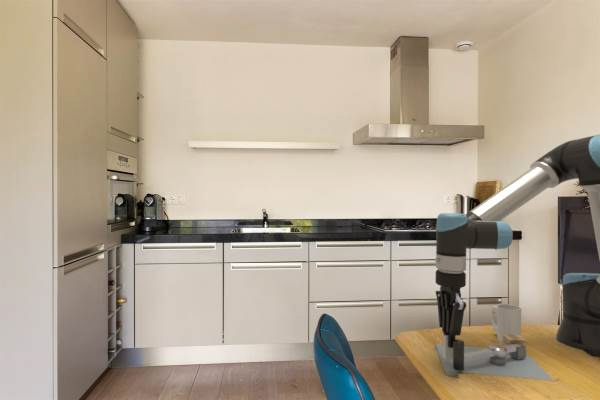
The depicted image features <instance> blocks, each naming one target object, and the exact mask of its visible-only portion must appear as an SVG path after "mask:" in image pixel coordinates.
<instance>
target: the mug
mask: <svg viewBox="0 0 600 400" xmlns="http://www.w3.org/2000/svg"><path fill="white" fill-rule="evenodd" d="M495 314H496V321H495ZM489 315H490V316H489V317H490V323H491V326H492V330H493V332H494V331H495V332H496V335H497V337H496V338H497V341H499V342H500V343H503V334H511V335H520V336H521V332H522V331H521V330H522V328H521V327H522V307H520V306H519V305H515V304H511V303H509V304H508V303H498V304H496V305H493V306H492V309H491V311H490V314H489ZM521 337H522V336H521Z"/></svg>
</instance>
